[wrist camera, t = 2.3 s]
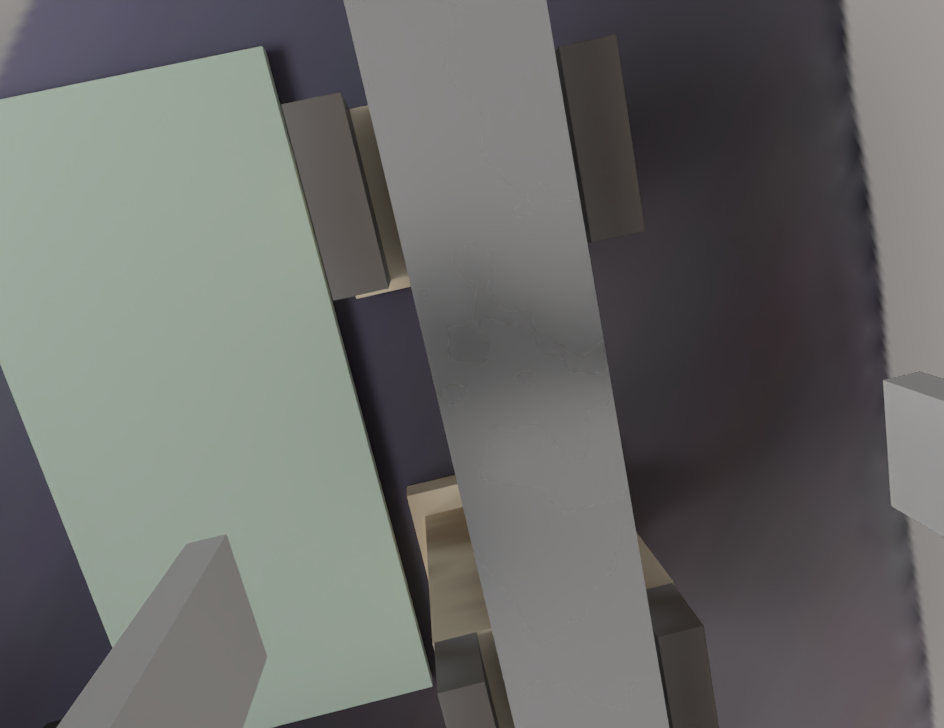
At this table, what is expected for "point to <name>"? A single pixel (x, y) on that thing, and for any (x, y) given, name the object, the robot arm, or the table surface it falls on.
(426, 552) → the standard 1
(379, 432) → the table surface
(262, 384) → the mat
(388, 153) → the rail
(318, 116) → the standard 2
